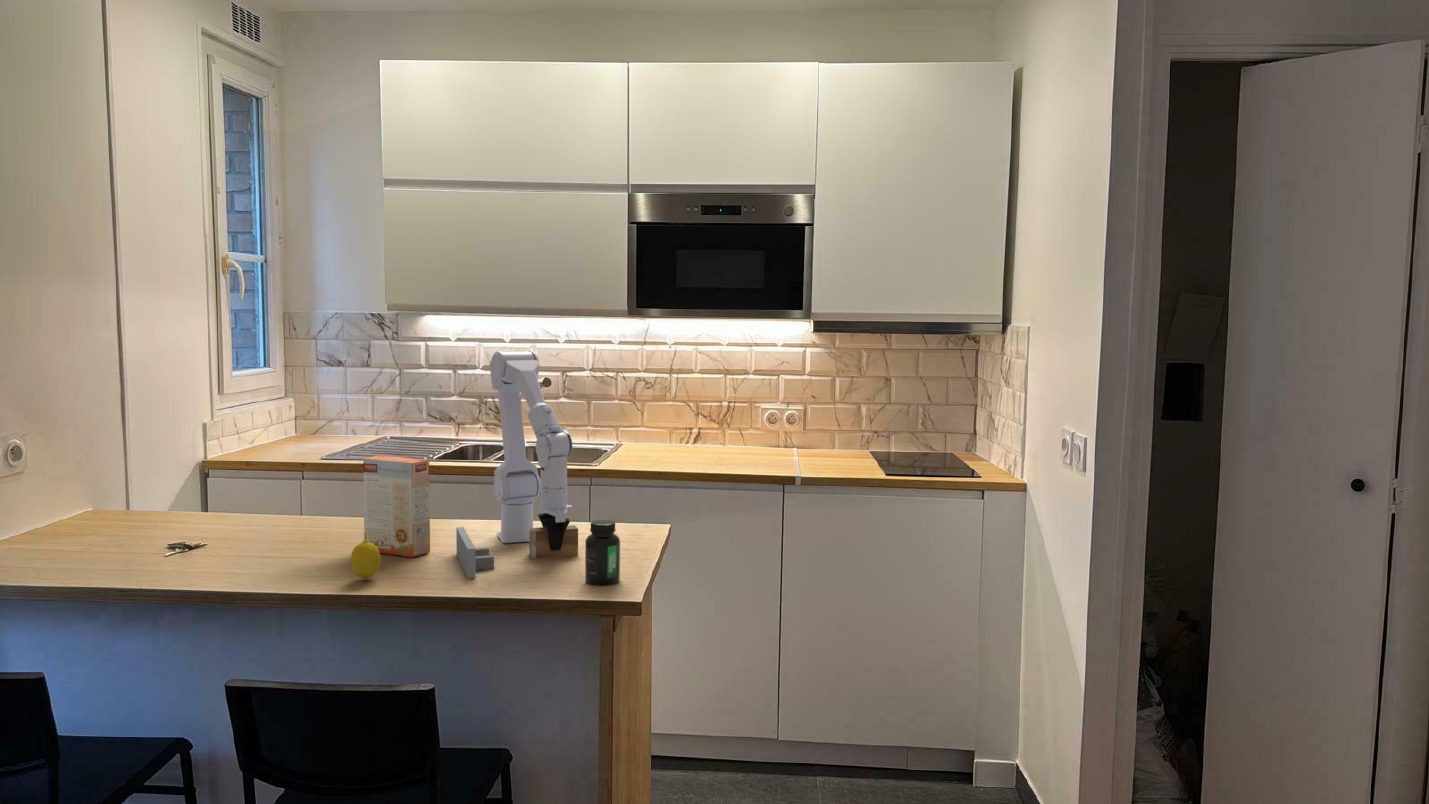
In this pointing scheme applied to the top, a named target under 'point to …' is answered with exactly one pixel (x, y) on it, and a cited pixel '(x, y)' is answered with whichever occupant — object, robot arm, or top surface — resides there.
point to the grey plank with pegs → (472, 554)
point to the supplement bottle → (602, 554)
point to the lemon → (365, 560)
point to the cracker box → (397, 505)
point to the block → (542, 548)
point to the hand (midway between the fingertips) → (553, 547)
